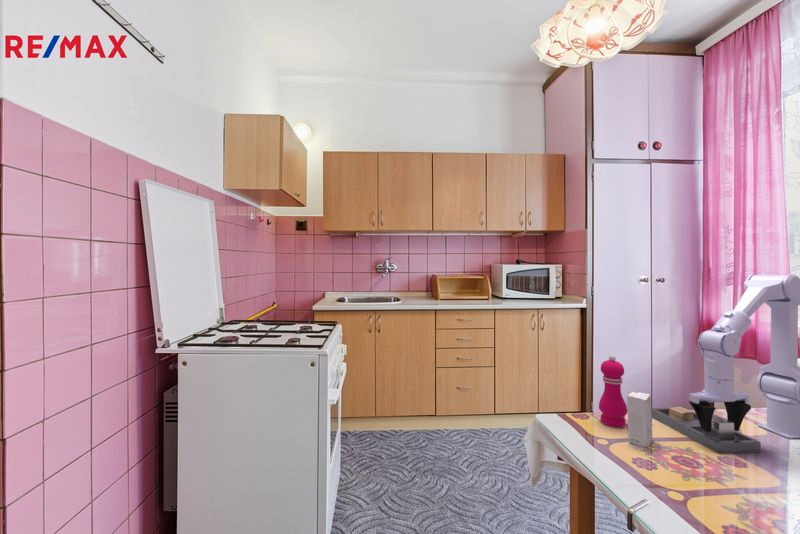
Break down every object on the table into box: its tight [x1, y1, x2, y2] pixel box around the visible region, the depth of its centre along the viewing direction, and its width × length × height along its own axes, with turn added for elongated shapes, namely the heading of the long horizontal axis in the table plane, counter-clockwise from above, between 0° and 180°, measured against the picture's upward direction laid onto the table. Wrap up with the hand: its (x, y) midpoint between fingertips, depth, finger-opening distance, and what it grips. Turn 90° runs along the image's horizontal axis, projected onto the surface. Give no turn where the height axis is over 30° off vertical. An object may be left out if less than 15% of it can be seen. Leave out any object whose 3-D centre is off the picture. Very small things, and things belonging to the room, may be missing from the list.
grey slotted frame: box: [651, 407, 762, 454], centre depth 97 cm, size 11×22×2 cm, turn 2°
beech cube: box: [668, 406, 694, 421], centre depth 103 cm, size 4×4×4 cm
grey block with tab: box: [705, 413, 734, 441], centre depth 91 cm, size 4×4×7 cm
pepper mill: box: [598, 354, 628, 428], centre depth 103 cm, size 7×7×20 cm
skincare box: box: [626, 391, 653, 448], centre depth 92 cm, size 6×4×12 cm
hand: (719, 429), depth 91 cm, fingers open, 7 cm apart
